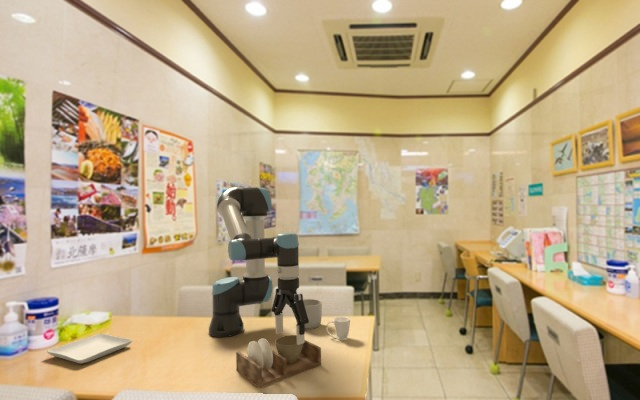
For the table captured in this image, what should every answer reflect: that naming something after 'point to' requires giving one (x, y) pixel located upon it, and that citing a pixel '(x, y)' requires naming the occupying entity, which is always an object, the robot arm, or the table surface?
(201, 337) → the table surface
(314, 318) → the planter
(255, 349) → the plates
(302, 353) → the rack
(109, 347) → the salad plate
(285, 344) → the flower pot
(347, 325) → the cup
